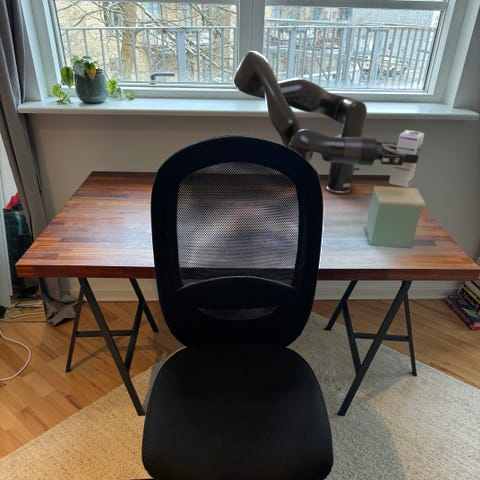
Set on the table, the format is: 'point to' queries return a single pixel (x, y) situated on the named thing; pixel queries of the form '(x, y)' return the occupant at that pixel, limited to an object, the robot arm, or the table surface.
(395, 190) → the lid
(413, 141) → the syrup box
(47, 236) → the table surface
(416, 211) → the box
